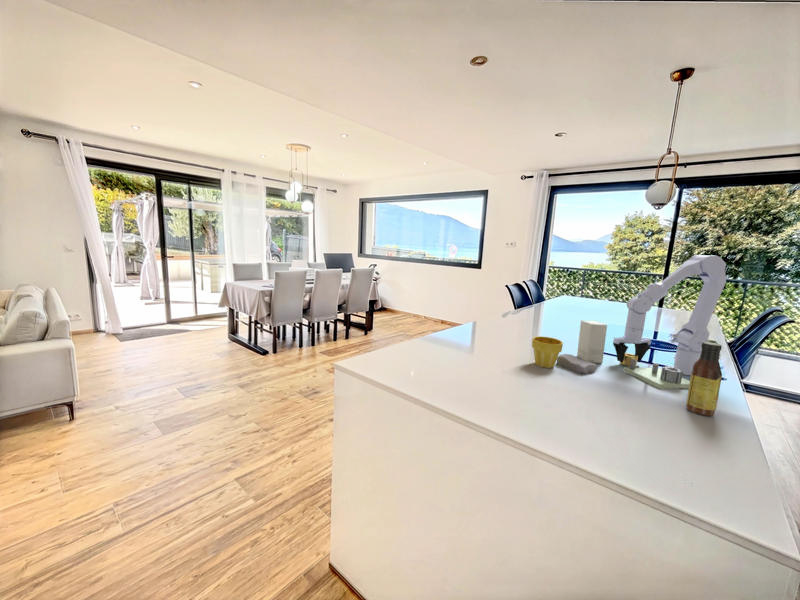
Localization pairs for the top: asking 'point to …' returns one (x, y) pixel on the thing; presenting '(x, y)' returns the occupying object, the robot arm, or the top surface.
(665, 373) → the steel gear
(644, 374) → the gear board
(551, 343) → the plant pot
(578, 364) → the stone block
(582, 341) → the skincare box
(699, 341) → the robot arm
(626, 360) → the brass gear
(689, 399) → the sauce bottle
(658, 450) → the top surface
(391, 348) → the top surface
